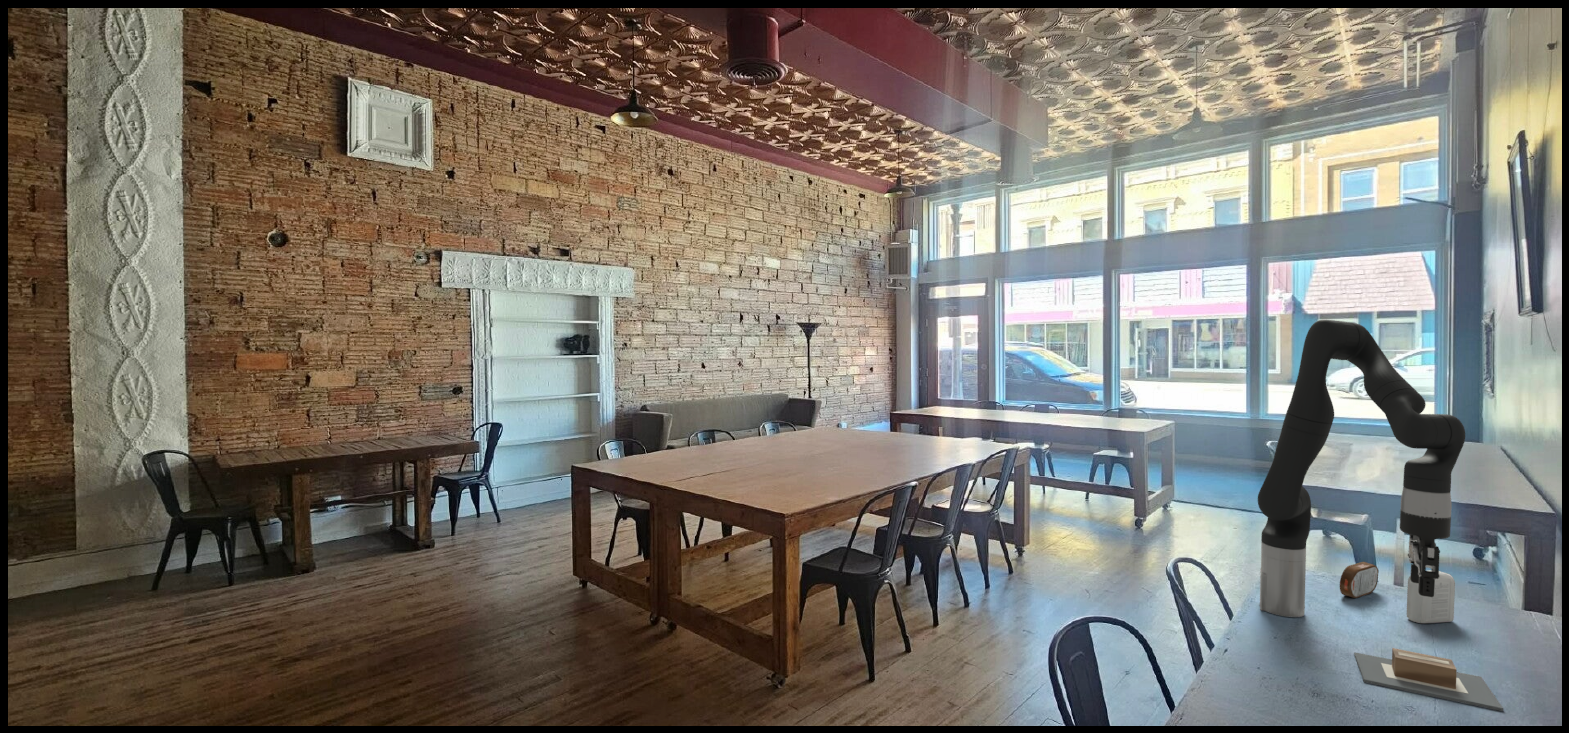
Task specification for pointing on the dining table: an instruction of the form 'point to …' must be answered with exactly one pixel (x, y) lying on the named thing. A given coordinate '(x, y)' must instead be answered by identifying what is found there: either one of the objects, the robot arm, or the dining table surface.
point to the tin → (1359, 579)
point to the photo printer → (1432, 601)
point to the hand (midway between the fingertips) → (1421, 589)
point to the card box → (1424, 668)
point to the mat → (1466, 690)
